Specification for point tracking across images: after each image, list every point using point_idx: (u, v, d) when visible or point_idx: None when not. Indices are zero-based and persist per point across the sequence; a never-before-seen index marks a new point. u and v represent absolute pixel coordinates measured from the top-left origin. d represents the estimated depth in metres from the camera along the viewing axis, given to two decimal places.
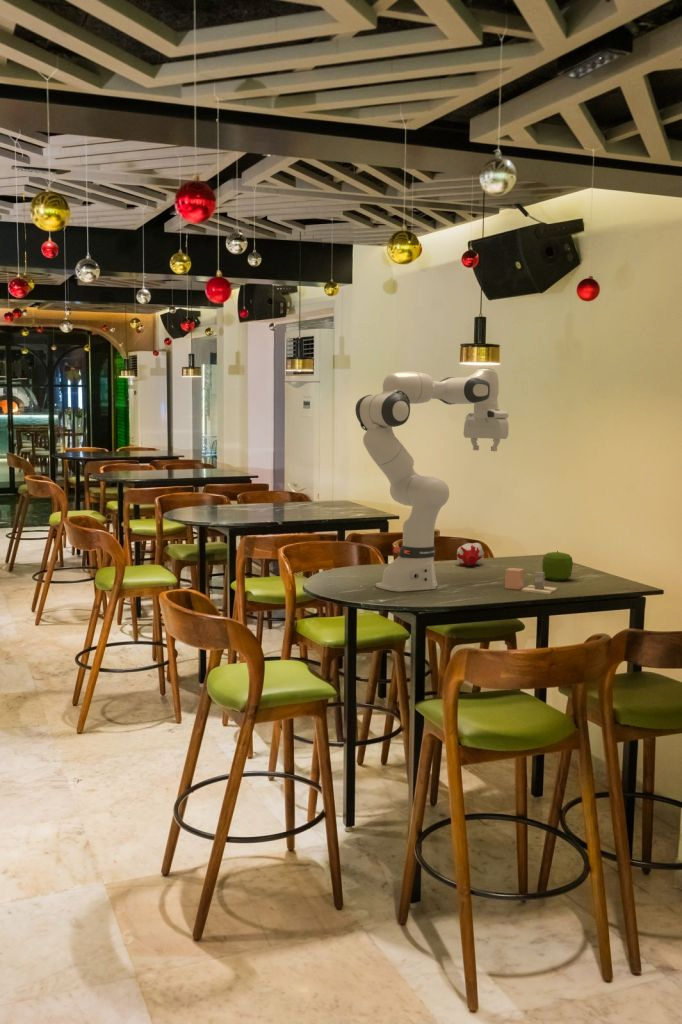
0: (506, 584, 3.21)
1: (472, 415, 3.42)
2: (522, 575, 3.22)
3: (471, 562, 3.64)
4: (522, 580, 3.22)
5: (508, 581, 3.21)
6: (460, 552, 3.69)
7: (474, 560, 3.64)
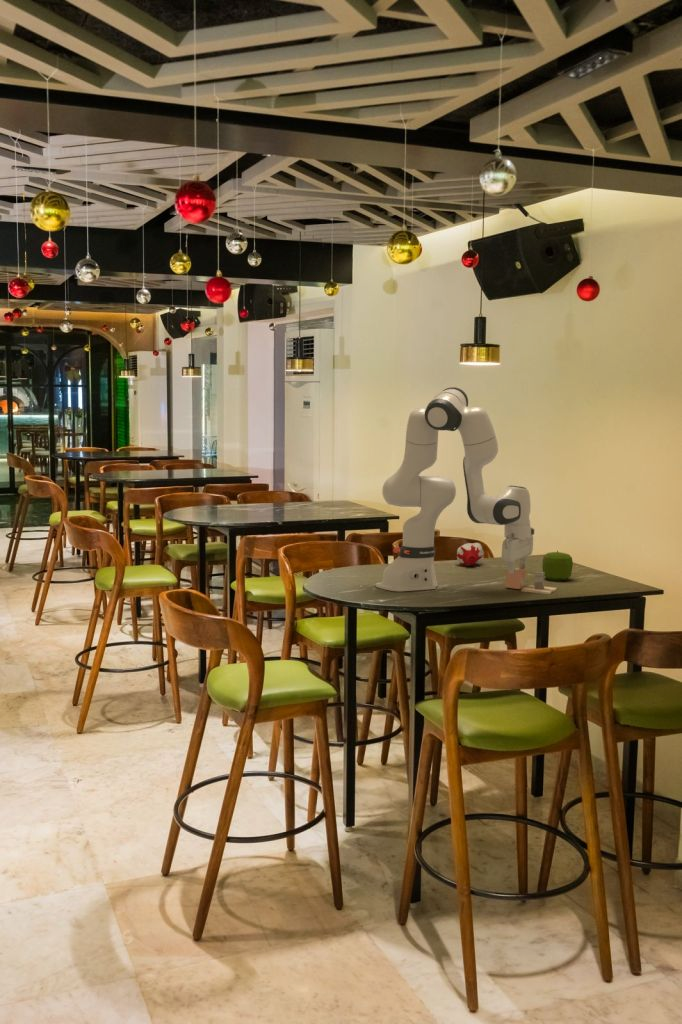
0: (506, 583, 3.21)
1: (511, 537, 3.13)
2: (523, 575, 3.22)
3: (471, 562, 3.64)
4: (523, 580, 3.22)
5: (509, 580, 3.21)
6: (460, 552, 3.69)
7: (474, 560, 3.64)
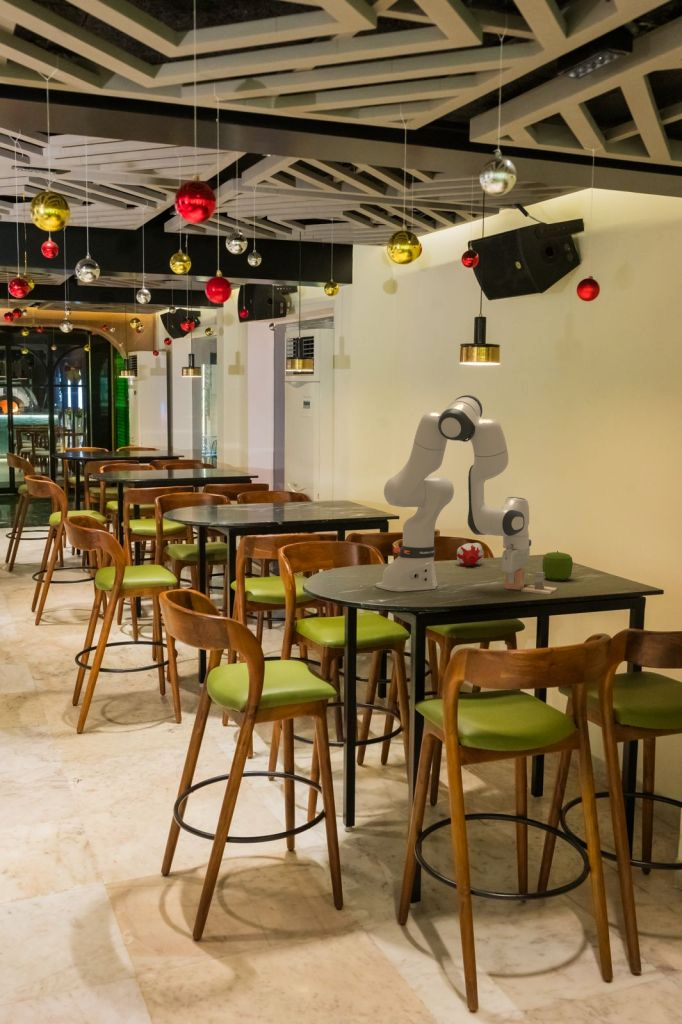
0: (506, 584, 3.21)
1: (510, 547, 3.15)
2: (522, 575, 3.22)
3: (471, 562, 3.64)
4: (522, 580, 3.22)
5: (508, 581, 3.21)
6: (460, 552, 3.69)
7: (474, 560, 3.64)
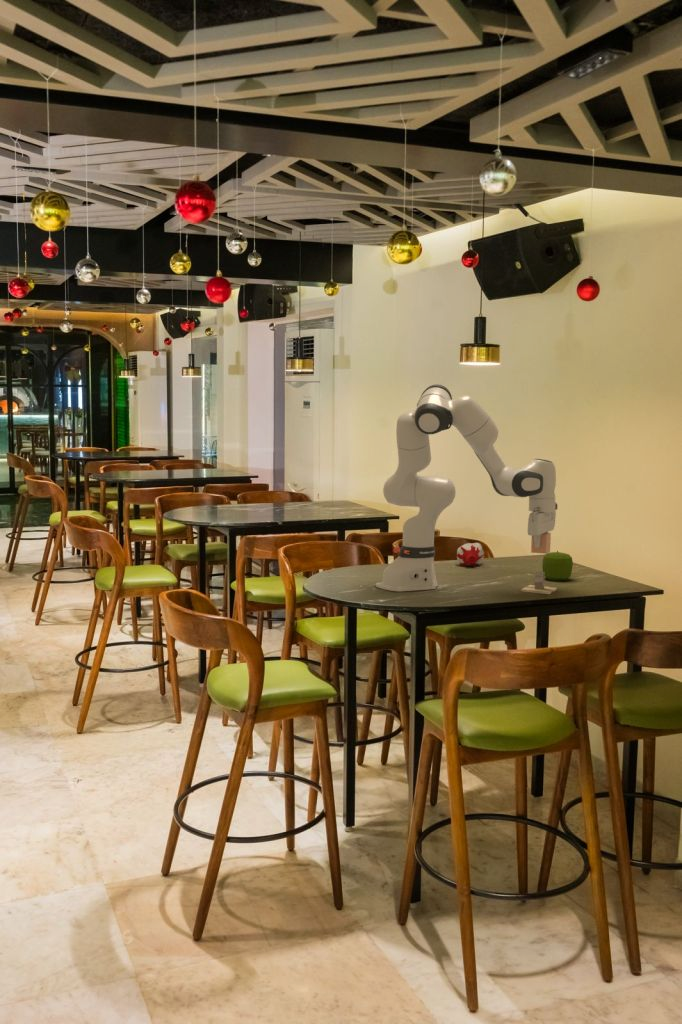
0: (532, 548, 3.15)
1: (537, 510, 3.09)
2: (549, 539, 3.16)
3: (471, 562, 3.64)
4: (548, 544, 3.16)
5: (534, 545, 3.15)
6: (460, 552, 3.69)
7: (474, 560, 3.64)
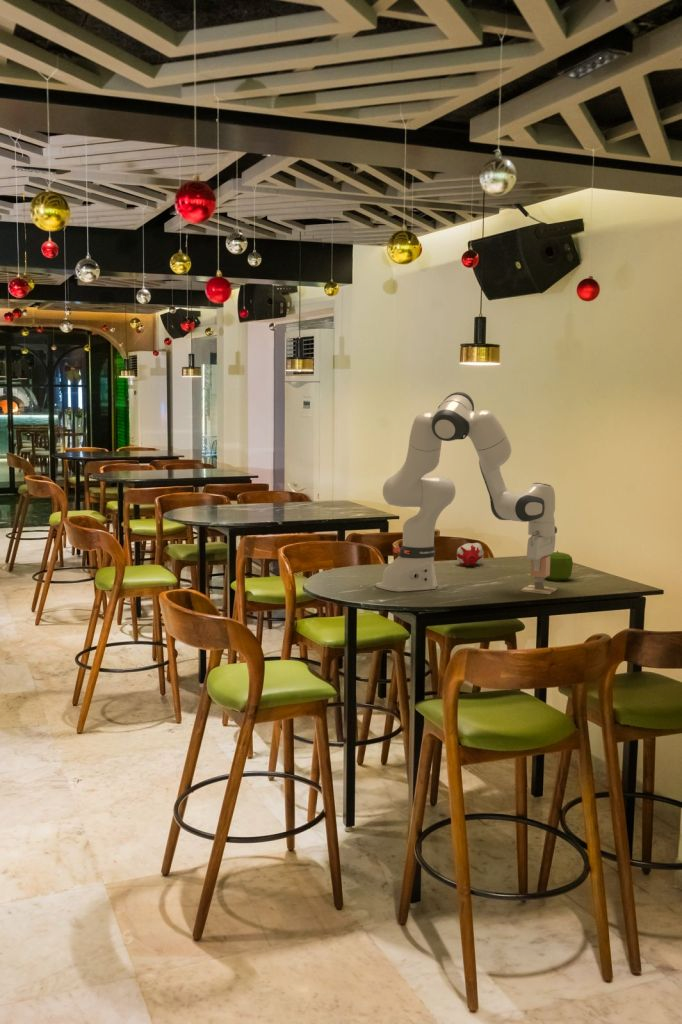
0: (532, 572, 3.16)
1: (536, 534, 3.10)
2: (548, 562, 3.16)
3: (471, 562, 3.64)
4: (548, 567, 3.16)
5: None
6: (460, 552, 3.69)
7: (474, 560, 3.64)
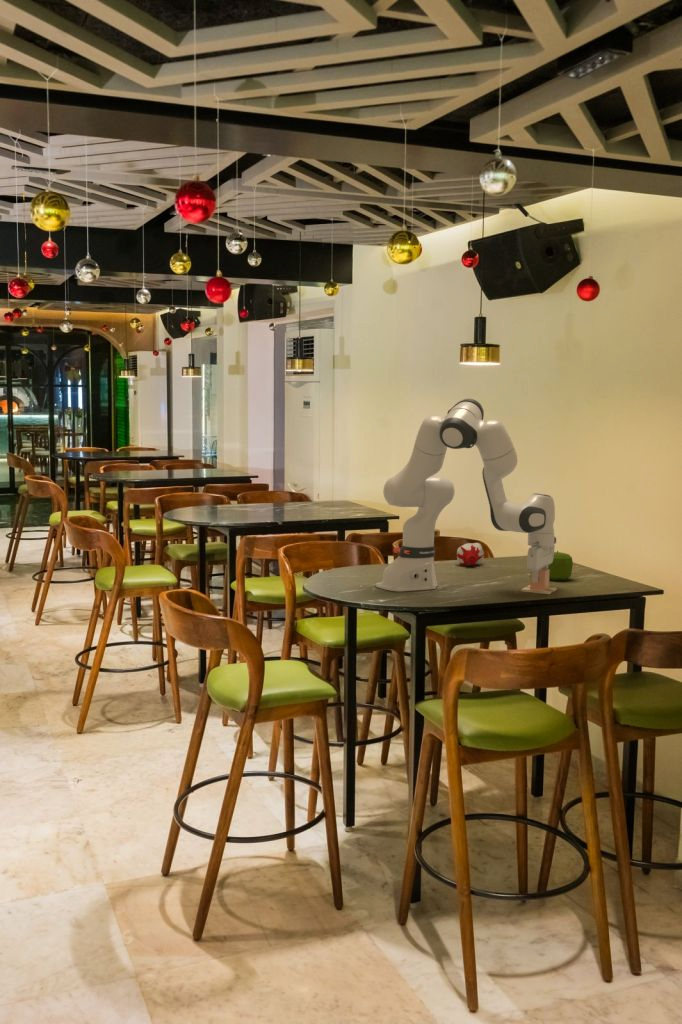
0: (531, 585, 3.17)
1: (536, 545, 3.11)
2: (547, 576, 3.17)
3: (471, 562, 3.64)
4: (547, 581, 3.17)
5: (533, 582, 3.16)
6: (460, 552, 3.69)
7: (474, 560, 3.64)
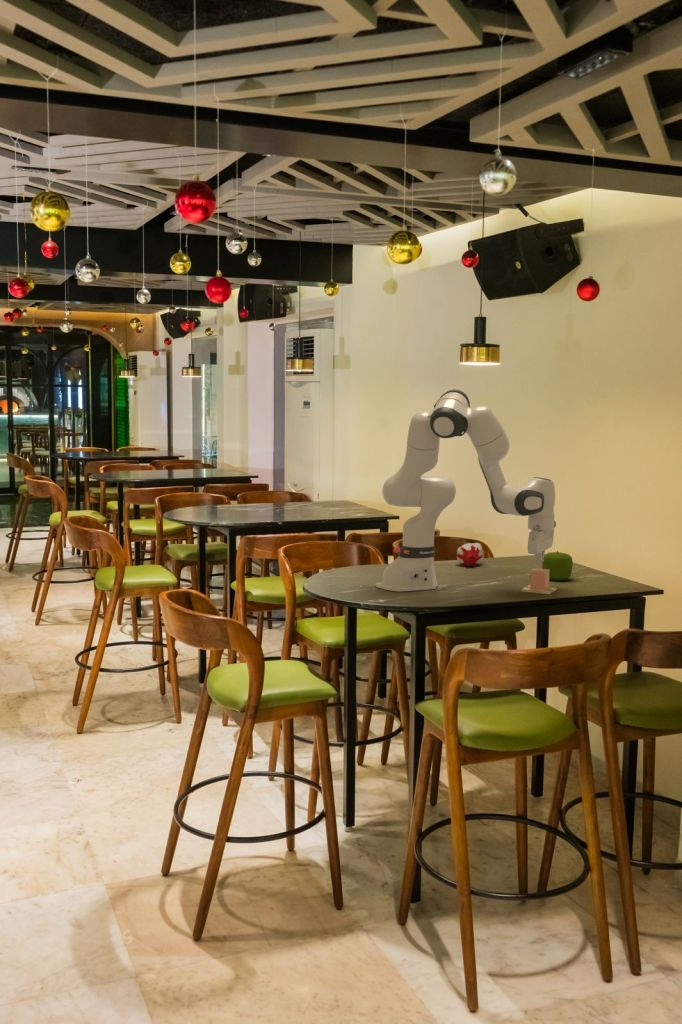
0: (531, 585, 3.17)
1: (537, 528, 3.11)
2: (547, 576, 3.17)
3: (471, 562, 3.64)
4: (547, 581, 3.17)
5: (533, 582, 3.16)
6: (460, 552, 3.69)
7: (474, 560, 3.64)
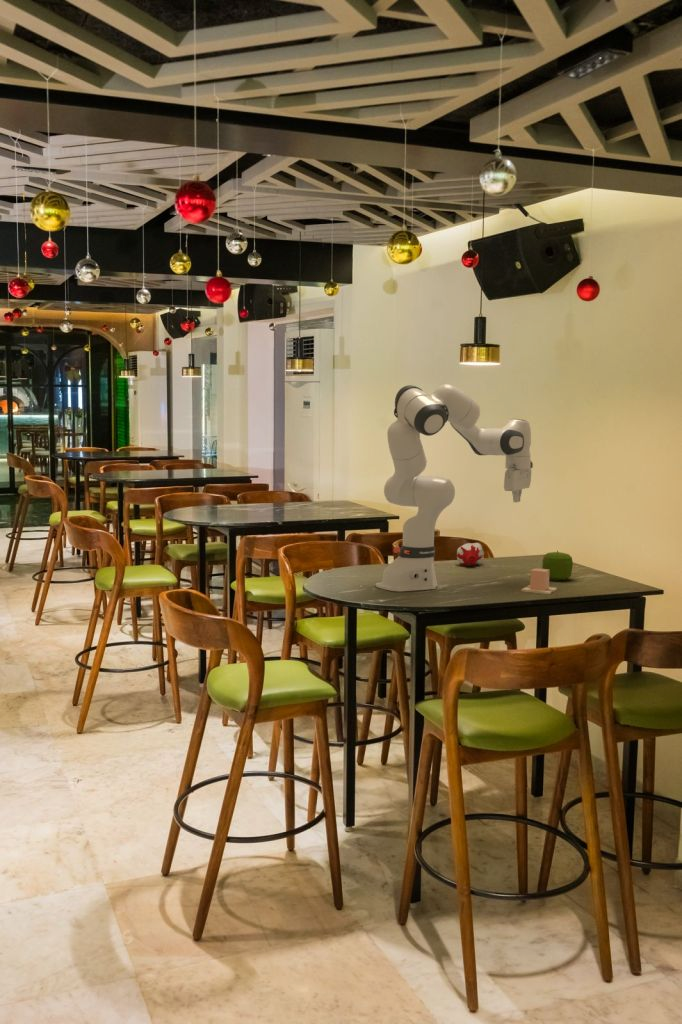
0: (531, 585, 3.17)
1: (513, 467, 3.26)
2: (547, 576, 3.17)
3: (471, 562, 3.64)
4: (547, 581, 3.17)
5: (533, 582, 3.16)
6: (460, 552, 3.69)
7: (474, 560, 3.64)
